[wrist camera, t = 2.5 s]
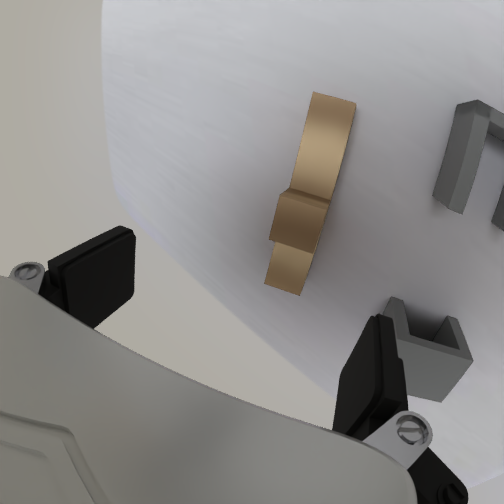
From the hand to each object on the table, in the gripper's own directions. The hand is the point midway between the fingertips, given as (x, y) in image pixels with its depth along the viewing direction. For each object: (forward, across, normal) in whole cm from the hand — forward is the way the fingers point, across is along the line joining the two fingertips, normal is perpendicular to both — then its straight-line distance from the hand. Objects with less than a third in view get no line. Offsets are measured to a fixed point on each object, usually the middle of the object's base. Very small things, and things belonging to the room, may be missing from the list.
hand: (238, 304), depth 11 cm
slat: (+16, -1, -2) cm, 16 cm away
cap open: (+15, -14, -8) cm, 22 cm away
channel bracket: (+16, -14, +8) cm, 22 cm away
